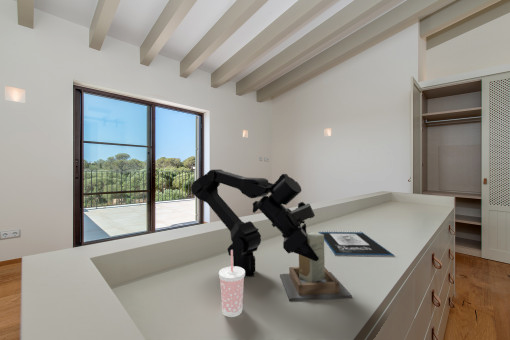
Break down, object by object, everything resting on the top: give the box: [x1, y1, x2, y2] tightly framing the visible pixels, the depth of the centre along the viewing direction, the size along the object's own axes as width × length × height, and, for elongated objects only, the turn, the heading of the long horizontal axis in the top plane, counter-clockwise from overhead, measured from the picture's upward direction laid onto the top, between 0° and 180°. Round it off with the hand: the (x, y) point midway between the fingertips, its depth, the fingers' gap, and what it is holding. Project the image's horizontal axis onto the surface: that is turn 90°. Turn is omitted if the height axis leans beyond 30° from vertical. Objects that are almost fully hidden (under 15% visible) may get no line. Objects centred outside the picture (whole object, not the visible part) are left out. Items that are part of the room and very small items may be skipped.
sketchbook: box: [317, 230, 395, 258], centre depth 98 cm, size 22×30×2 cm
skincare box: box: [298, 231, 326, 283], centre depth 62 cm, size 6×4×12 cm
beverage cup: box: [218, 250, 245, 318], centre depth 52 cm, size 6×6×14 cm
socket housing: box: [279, 266, 353, 302], centre depth 62 cm, size 16×13×3 cm
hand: (316, 254), depth 62 cm, fingers closed on skincare box, 7 cm apart
